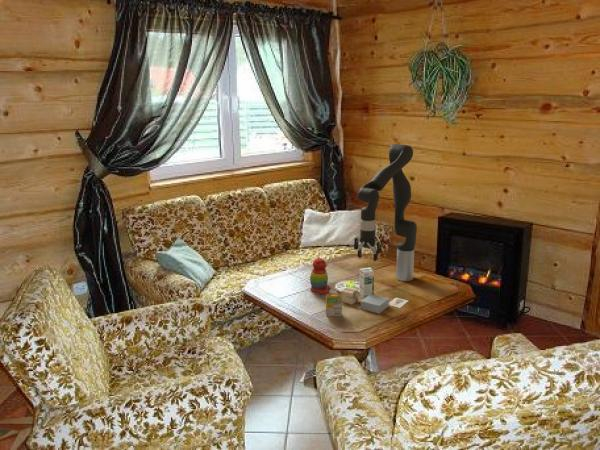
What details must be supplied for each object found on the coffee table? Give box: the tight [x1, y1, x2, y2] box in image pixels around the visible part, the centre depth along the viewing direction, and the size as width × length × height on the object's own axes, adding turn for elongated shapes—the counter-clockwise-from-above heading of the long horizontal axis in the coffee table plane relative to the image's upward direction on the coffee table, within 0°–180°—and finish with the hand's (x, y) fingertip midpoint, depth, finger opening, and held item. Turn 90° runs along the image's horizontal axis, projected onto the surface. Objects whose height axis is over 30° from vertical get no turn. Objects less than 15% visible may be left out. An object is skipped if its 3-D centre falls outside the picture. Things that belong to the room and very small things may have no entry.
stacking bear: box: [309, 256, 331, 296], centre depth 264 cm, size 11×10×18 cm
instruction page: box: [389, 297, 409, 309], centre depth 249 cm, size 10×7×1 cm
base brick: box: [360, 294, 390, 314], centre depth 244 cm, size 10×10×4 cm
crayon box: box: [325, 292, 343, 317], centre depth 236 cm, size 7×3×12 cm, turn 92°
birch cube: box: [341, 286, 359, 305], centre depth 251 cm, size 6×6×6 cm
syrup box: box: [358, 266, 375, 300], centre depth 256 cm, size 6×6×14 cm
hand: (367, 259), depth 252 cm, fingers open, 8 cm apart
